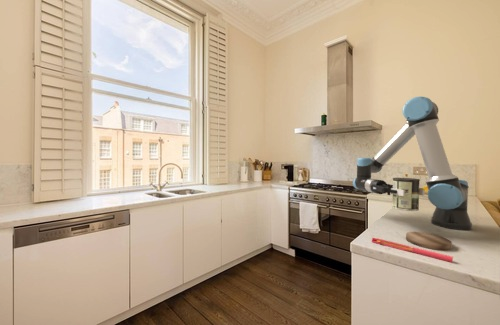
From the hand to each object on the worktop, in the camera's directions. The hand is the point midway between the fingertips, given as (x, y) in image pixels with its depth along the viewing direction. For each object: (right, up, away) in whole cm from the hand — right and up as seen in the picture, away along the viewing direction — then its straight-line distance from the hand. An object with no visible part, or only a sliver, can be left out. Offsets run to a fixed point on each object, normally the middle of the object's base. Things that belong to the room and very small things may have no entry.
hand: (414, 192), depth 99 cm
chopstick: (-16, -19, -19) cm, 31 cm away
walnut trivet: (-3, -18, -12) cm, 22 cm away
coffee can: (-1, -8, +4) cm, 9 cm away
